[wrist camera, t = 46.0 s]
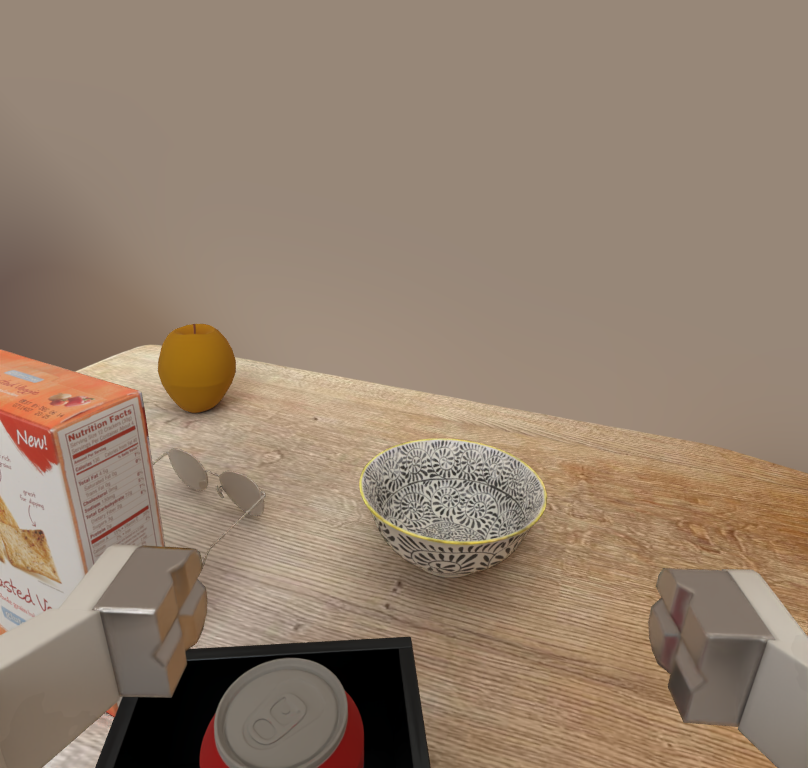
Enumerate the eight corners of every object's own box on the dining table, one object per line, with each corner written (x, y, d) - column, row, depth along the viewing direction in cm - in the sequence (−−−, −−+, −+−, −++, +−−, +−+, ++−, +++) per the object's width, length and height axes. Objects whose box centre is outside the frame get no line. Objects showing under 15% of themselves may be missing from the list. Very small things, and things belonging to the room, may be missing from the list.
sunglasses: (273, 523, 56) (265, 483, 54) (207, 585, 50) (194, 543, 48) (175, 480, 63) (163, 442, 60) (106, 530, 56) (89, 490, 54)
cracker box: (-24, 642, 42) (-111, 369, 34) (56, 590, 47) (-4, 342, 39) (112, 727, 36) (45, 425, 28) (185, 658, 41) (146, 384, 33)
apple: (236, 422, 76) (229, 335, 71) (156, 425, 74) (144, 337, 70) (241, 392, 85) (235, 313, 80) (170, 395, 83) (160, 314, 78)
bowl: (563, 613, 47) (577, 535, 44) (363, 625, 45) (364, 544, 42) (507, 500, 61) (515, 436, 58) (355, 505, 59) (355, 439, 57)
